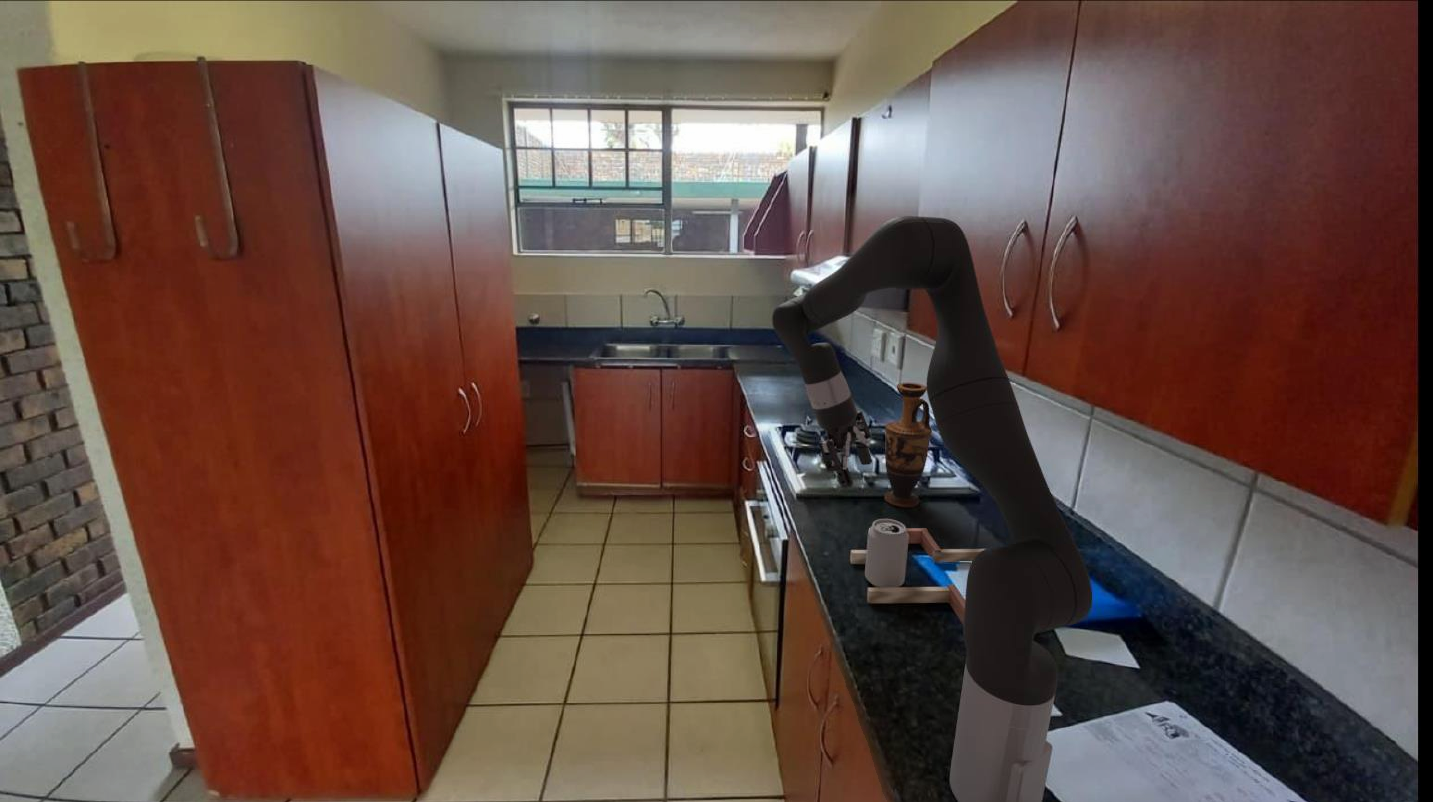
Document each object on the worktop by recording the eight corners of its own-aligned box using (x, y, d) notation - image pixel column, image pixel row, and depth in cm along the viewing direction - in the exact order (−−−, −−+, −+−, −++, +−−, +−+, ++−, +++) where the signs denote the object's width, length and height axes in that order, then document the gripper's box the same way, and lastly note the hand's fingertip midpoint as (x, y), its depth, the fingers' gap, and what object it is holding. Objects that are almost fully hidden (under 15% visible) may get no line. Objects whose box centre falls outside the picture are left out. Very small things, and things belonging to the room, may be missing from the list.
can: (906, 594, 110) (912, 537, 107) (865, 589, 112) (869, 533, 108) (902, 572, 117) (907, 518, 114) (863, 568, 119) (868, 514, 115)
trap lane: (881, 632, 100) (882, 617, 99) (841, 541, 129) (842, 528, 128) (1070, 630, 100) (1073, 615, 100) (988, 539, 130) (990, 527, 129)
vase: (883, 509, 144) (894, 391, 135) (875, 490, 154) (884, 380, 146) (929, 511, 143) (942, 392, 134) (917, 492, 153) (929, 380, 145)
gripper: (830, 413, 102) (859, 493, 106) (864, 380, 112) (890, 455, 115) (795, 417, 107) (824, 494, 111) (831, 386, 117) (856, 457, 121)
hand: (857, 474), depth 113 cm, fingers open, 8 cm apart
